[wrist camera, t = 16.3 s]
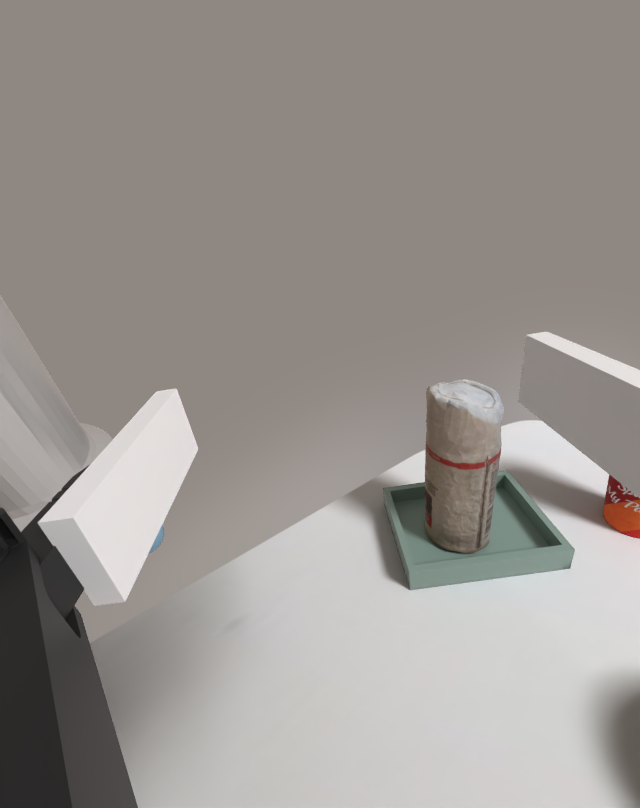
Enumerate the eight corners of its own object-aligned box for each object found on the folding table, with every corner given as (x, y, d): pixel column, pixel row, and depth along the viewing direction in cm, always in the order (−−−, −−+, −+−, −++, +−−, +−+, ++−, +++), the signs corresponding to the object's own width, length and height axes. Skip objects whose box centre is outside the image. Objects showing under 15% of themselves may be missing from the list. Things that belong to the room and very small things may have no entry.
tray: (410, 590, 40) (409, 572, 38) (384, 503, 52) (383, 488, 51) (569, 568, 39) (574, 549, 38) (505, 486, 52) (507, 470, 51)
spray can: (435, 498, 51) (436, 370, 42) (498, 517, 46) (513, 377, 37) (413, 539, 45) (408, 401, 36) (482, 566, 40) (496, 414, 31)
